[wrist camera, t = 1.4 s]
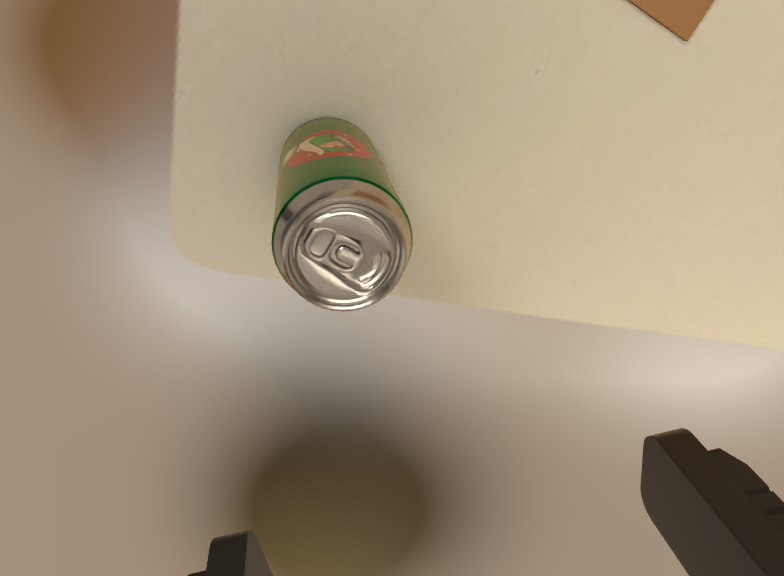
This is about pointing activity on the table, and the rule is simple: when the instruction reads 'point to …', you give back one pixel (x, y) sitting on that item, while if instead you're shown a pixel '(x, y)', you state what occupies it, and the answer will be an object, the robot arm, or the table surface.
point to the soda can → (338, 218)
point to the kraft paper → (676, 14)
